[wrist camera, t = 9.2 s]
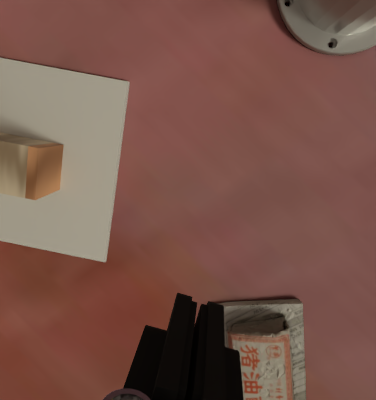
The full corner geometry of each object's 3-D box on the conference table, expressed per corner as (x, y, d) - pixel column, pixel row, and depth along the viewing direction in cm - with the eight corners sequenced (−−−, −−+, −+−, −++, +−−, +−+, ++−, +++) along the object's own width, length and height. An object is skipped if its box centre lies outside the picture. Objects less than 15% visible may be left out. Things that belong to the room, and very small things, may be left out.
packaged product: (316, 459, 36) (229, 459, 38) (305, 420, 41) (227, 422, 42) (312, 319, 32) (214, 324, 34) (300, 294, 37) (214, 300, 38)
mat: (-49, 49, 33) (-53, 47, 33) (129, 82, 33) (128, 81, 32) (-49, 228, 38) (-53, 229, 38) (106, 259, 38) (104, 262, 37)
